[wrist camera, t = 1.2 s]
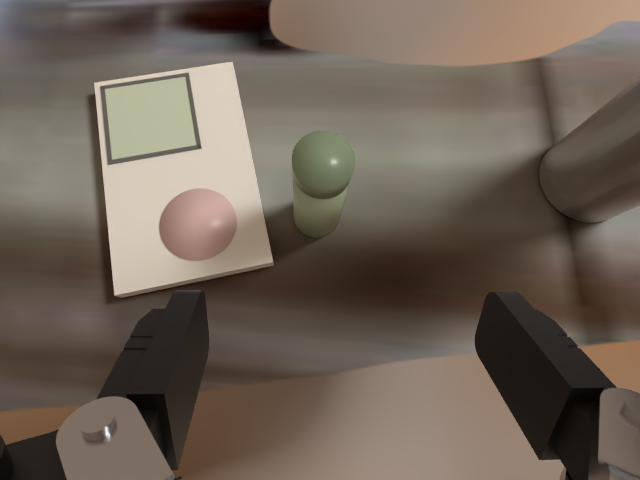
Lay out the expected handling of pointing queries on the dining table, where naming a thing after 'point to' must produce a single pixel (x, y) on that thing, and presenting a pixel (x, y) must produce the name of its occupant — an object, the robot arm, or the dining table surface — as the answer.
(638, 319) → the dining table surface
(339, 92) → the dining table surface
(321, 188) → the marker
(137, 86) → the picture board
